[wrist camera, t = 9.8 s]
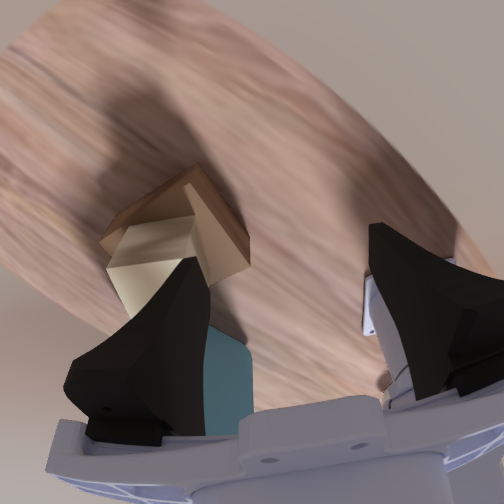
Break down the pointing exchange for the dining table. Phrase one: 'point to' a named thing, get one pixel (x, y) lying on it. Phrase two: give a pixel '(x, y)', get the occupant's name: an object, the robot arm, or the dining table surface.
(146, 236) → the birch cube
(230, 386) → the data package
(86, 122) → the dining table surface
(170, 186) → the walnut base block
